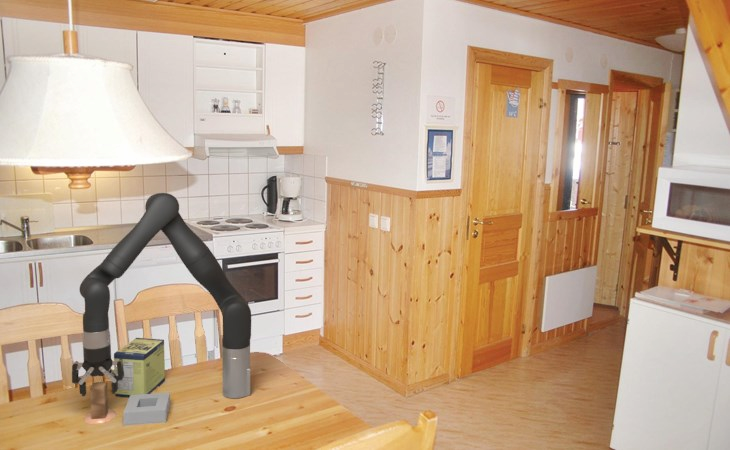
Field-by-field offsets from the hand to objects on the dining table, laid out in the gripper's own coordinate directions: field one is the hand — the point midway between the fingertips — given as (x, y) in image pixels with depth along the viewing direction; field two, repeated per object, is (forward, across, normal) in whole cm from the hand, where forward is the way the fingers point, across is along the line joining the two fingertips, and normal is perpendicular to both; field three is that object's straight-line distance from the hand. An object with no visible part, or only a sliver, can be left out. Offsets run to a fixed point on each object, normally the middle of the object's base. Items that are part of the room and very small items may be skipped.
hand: (99, 393), depth 174 cm
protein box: (+8, -9, -19) cm, 23 cm away
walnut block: (+7, 0, 0) cm, 7 cm away
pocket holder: (+8, -14, +1) cm, 16 cm away
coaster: (+8, 0, 0) cm, 8 cm away
